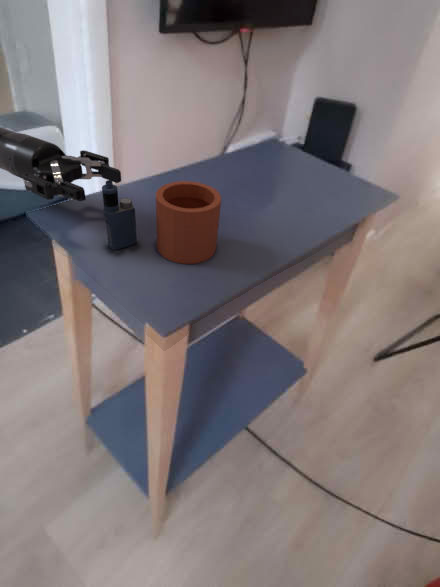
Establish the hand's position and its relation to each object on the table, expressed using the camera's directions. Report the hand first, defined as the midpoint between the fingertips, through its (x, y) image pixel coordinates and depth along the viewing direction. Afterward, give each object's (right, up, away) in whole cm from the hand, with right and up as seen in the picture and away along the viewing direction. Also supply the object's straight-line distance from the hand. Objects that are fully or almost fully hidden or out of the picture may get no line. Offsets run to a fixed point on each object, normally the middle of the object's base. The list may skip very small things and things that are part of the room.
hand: (102, 185), depth 64 cm
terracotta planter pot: (+13, -9, +7) cm, 17 cm away
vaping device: (+2, -9, +5) cm, 11 cm away
